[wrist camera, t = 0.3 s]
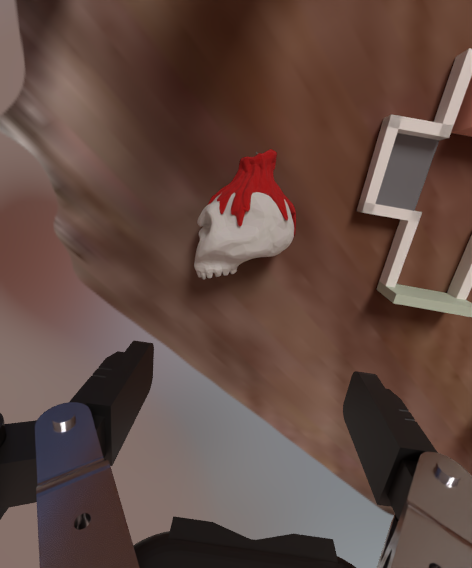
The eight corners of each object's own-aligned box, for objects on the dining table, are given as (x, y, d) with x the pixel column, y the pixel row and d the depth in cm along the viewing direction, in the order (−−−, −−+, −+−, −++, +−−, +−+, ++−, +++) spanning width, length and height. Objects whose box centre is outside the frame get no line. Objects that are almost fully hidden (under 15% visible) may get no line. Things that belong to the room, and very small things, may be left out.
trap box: (404, 47, 31) (431, 22, 27) (603, 83, 31) (665, 64, 27) (335, 282, 40) (346, 295, 35) (492, 309, 40) (525, 326, 35)
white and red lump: (199, 269, 40) (211, 152, 37) (282, 280, 40) (301, 162, 37) (185, 282, 31) (199, 128, 28) (292, 296, 31) (317, 142, 28)
